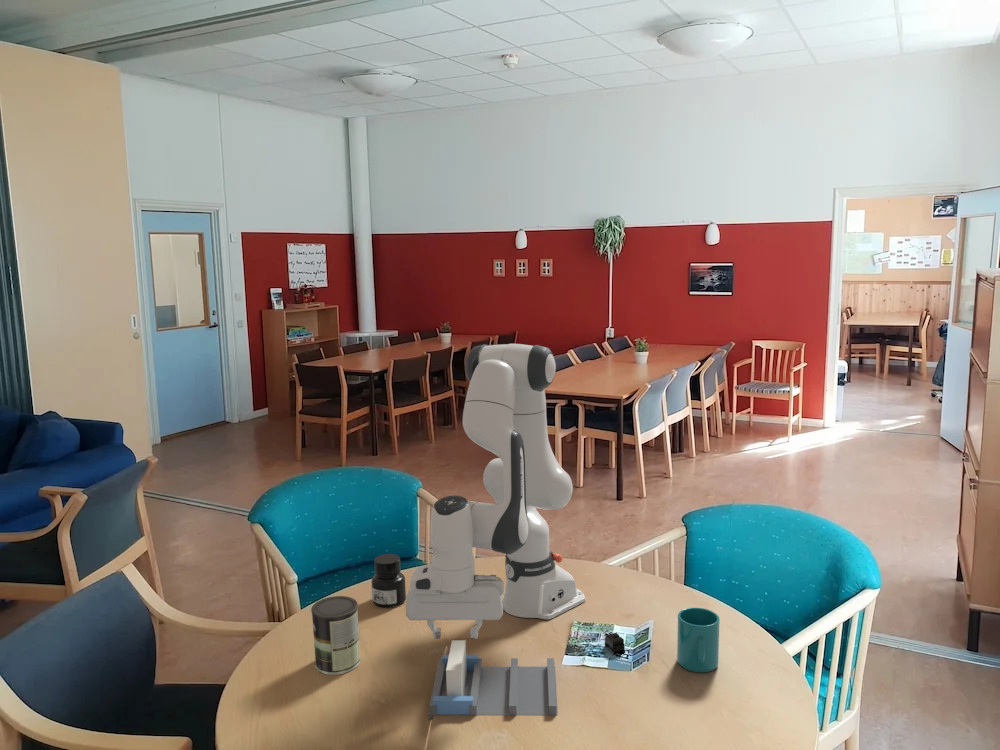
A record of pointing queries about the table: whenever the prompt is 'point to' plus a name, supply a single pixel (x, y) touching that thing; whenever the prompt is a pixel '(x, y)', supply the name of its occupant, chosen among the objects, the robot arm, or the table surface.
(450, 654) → the plug block
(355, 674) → the table surface
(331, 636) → the coffee can
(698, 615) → the cup
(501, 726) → the table surface
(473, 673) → the board
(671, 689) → the table surface
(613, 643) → the black notched block
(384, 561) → the ink bottle
